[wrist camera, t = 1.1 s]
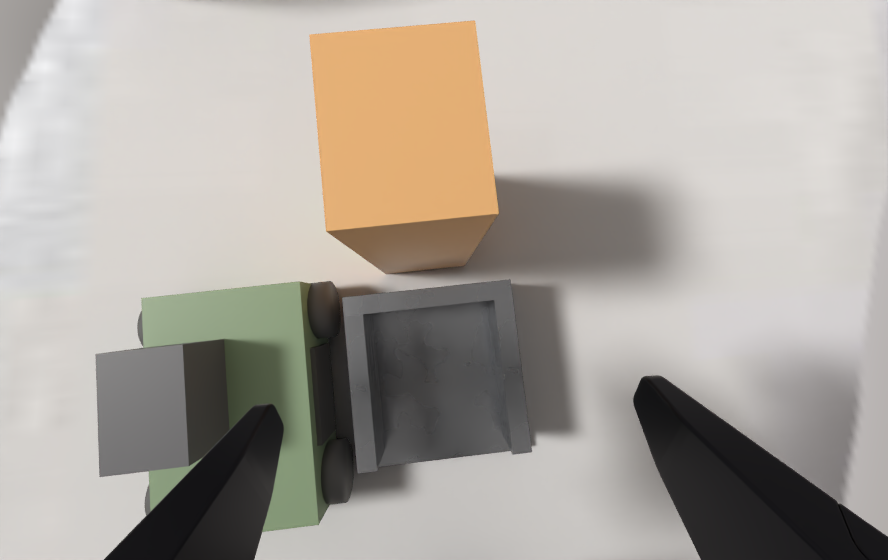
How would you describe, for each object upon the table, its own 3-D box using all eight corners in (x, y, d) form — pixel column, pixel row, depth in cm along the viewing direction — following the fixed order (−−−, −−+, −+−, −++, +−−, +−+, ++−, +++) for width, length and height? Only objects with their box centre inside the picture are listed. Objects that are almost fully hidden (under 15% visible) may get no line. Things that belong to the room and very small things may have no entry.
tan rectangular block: (464, 265, 23) (498, 213, 10) (386, 273, 23) (325, 231, 10) (454, 174, 23) (474, 20, 11) (377, 181, 23) (309, 34, 11)
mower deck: (355, 485, 22) (317, 567, 15) (189, 505, 21) (69, 600, 14) (338, 283, 23) (294, 271, 16) (178, 300, 22) (62, 295, 15)
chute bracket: (527, 445, 22) (544, 470, 19) (363, 465, 22) (349, 495, 18) (506, 283, 23) (519, 278, 19) (348, 300, 23) (332, 298, 19)
